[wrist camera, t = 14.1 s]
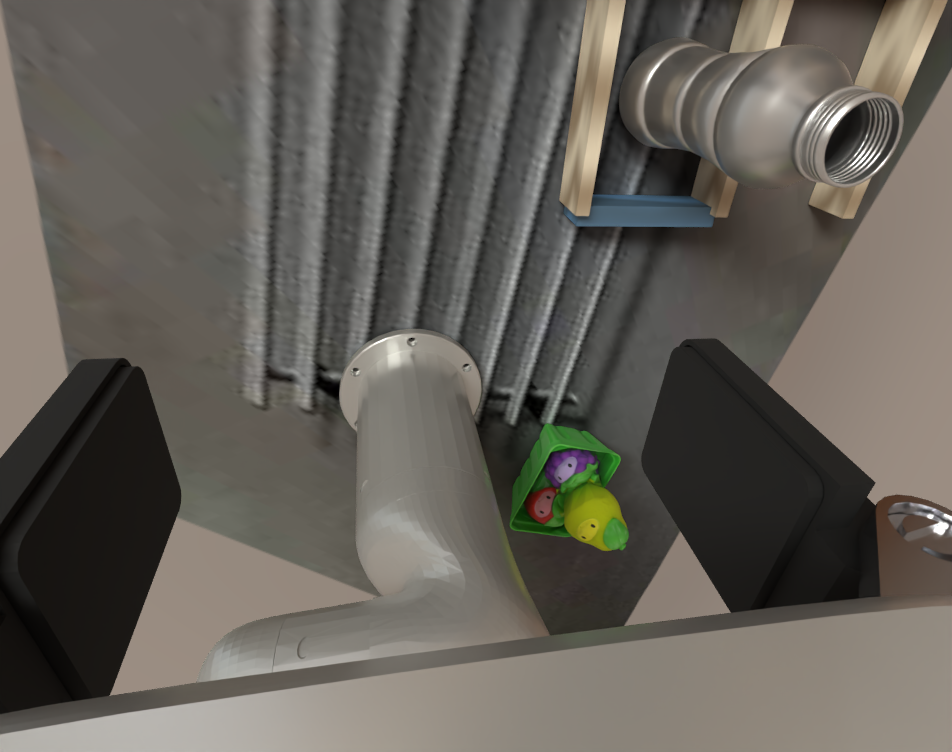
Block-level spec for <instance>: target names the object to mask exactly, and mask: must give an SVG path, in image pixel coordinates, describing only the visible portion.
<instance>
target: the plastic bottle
mask: <svg viewBox="0 0 952 752" xmlns="http://www.w3.org/2000/svg"><path fill="white" fill-rule="evenodd" d="M619 109H620V115H621V118H622V121H623V124H624V125H625V127H626V128H627V130H628V131H629V132H630V133H631V134H632V135H633V136H634V137H635V138H636V139H637V140H638V141H639V142H641V143H642V144H644V145H646V146H649V147H653V148H662V149H674V148H676V149H681V150H686V151H691V152H693V153H695V154H697V155H699V156H700V157H702V158H704V159H706V160H708V161H710V162H711V163H712V164H713V165H715V166H716V167H717V168H719V169H720V170H721V171H722V172H724V173H725V174H726V175H728V176H729V177H730V178H732V179H733V180H735V181H737V182H739V183H741V184H742V185H744V186H746V187H750V188H753V189H774V188H781V187H786V186H789V185H792V184H794V183H796V182H799V181H801V180H803V179H808V180H811V181H814V182H817V183H825V184H828V185H830V186H834V187H840V188H848V187H853V186H856V185H859V184H861V183H863V182H865V181H866V180H868V179H870V178H871V177H872V176H874V175H875V174H876V173H877V172H878V171H879V170H880V169H881V168H882V167H883V166H884V165H885V164H886V162H887V161H888V160H889V159H890V157H891V156H892V154H893V152H894V151H895V149H896V147H897V145H898V142H899V140H900V137H901V134H902V130H903V122H904V121H903V112H902V108H901V106H900V104H899V103H898V101H897V100H896V99H894V98H893V97H891V96H889V95H887V94H884V93H881V92H875V91H871V90H870V89H868V88H865V87H862V86H857V85H853V83H852V80H851V77H850V74H849V71H848V69H847V68H846V66H845V65H844V63H843V62H842V61H841V60H840V59H838V58H837V57H836V56H835V55H833V54H832V53H830V52H829V51H827V50H826V49H824V48H822V47H819V46H816V45H812V44H796V45H786V46H781V47H777V48H771V49H766V50H761V51H756V52H737V53H726V52H722V51H719V50H715V49H711V48H709V47H708V46H706V45H705V44H703V43H700V42H697V41H695V40H692V39H689V38H684V37H676V38H670V39H667V40H664V41H661V42H658V43H656V44H654V45H652V46H650V47H648V48H647V49H645V50H644V51H643V52H642V53H641V54H640V55H639V56H638V57H637V58H636V59H635V60H634V61H633V63H632V64H631V65H630V67H629V69H628V71H627V72H626V74H625V76H624V79H623V82H622V85H621V89H620V95H619Z"/></svg>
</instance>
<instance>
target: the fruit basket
mask: <svg viewBox="0 0 952 752" xmlns="http://www.w3.org/2000/svg"><path fill="white" fill-rule="evenodd" d="M620 461H621V458H620V456H619V455H618V454H616V453H615V452H614V451H612V450H610V449H608V448H607V447H606V446H605V445H603V444H602V443H601V442H600V441H599V440H597V439H596V438H595V437H594V436H593V435H591V434H590V433H589V432H587V431H578V430H576V429H572V428H567V427H563V426H553V425H552V424H545V426H544V427H543V429H542V431H541V433H540V437H539V439H538V441H537V442H536V443H535V445H534V447H533V449H532V451H531V452H530V457H529V458H528V459H527V460H526V462H525V464H524V466H523V468H522V470H521V474H520V476H519V477H518V478H517V479H516V481H515V483H514V485H513V490H512V514H511V516H510V528H511V529H513V530H515V531H523V532H531V533H539V534H546V535H553V536H561V537H570V536H573V537H574V538H576V539H577V540H579V541H581V542H584V543H587V544H591V545H593V546H595V547H596V548H598V549H600V550H603V551H610V550H616V549H618V548H619V549H620V550H623V549H624V548H625V547H626V544H625V543H626V541H627V540H628V537H629V532H628V530H627V526H626V523H625V521H624V520H623V518H622V515H621V510H620V507H619V504H618V502H617V500H616V498H615V497H614V496H613V495H612V494H611V493H610V492H609V491H608V490H607V489H605V486H606V485H607V483H608V482H609V480H610V479H611V477H612V475H613V474H614V472H615V470H616V469H617V467H618V465H619V464H620Z"/></svg>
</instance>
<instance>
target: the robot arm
mask: <svg viewBox="0 0 952 752" xmlns="http://www.w3.org/2000/svg"><path fill="white" fill-rule="evenodd" d="M409 338H413V339H409ZM464 364H465V365H464ZM354 368H357V369H354ZM481 394H482V385H481V378H480V374H479V371H478V368H477V366H476V363H475V361H474V359H473V358H472V357H471V355H470V354H469V352H468V351H467V350H466V349H465V348H464V347H463V346H462V345H461V344H460V343H458V342H456V341H455V340H453V339H452V338H450V337H448V336H446V335H443V334H441V333H438V332H435V331H430V330H424V329H403V330H397V331H392V332H389V333H386V334H383V335H380V336H378V337H376V338H374V339H373V340H371V341H369V342H367V343H366V344H365V345H364V346H362V347H361V348H360V349H359V350H357V351H356V353H355V354H354V355H353V356H352V357H351V359H350V360H349V361H348V363H347V365H346V367H345V369H344V371H343V374H342V378H341V381H340V391H339V396H340V405H341V408H342V411H343V414H344V416H345V418H346V420H347V421H348V423H349V424H350V426H351V427H352V428H353V429H354V430H355V431H356V432H357V479H356V546H357V550H358V555H359V558H360V562H361V564H362V566H363V568H364V570H365V572H366V574H367V576H368V578H369V579H370V581H371V582H372V583H373V585H374V586H375V588H376V589H377V590H378V591H379V593H380V594H381V595H382V596H381V597H376V598H373V600H368V601H362V602H356V603H350V604H344V605H338V606H333V607H326V608H320V609H314V610H308V611H302V612H296V613H290V614H284V615H279V616H273V617H269V618H265V619H260V620H256V621H253V622H250V623H247V624H245V625H243V626H240V627H238V628H236V629H234V630H233V631H231V632H229V633H228V634H226V635H225V636H224V637H223V638H222V639H221V640H220V641H218V642H217V643H216V645H215V646H214V647H213V648H212V650H211V651H210V653H209V654H208V656H207V657H206V659H205V661H204V663H203V665H202V667H201V670H200V672H199V675H198V678H197V681H196V683H191V684H185V685H179V686H171V687H165V688H158V689H152V690H145V691H139V692H132V693H125V694H119V695H112V696H109V695H110V693H111V691H112V688H113V686H114V683H115V680H116V678H117V675H118V672H119V669H120V667H121V664H122V661H123V659H124V656H125V654H126V651H127V648H128V646H129V643H130V640H131V637H132V635H133V632H134V629H135V627H136V624H137V621H138V619H139V616H140V613H141V611H142V608H143V605H144V602H145V600H146V597H147V594H148V592H149V589H150V586H151V584H152V581H153V578H154V576H155V573H156V571H157V568H158V565H159V563H160V560H161V557H162V554H163V552H164V549H165V546H166V544H167V541H168V538H169V536H170V533H171V530H172V528H173V525H174V522H175V520H176V517H177V514H178V512H179V509H180V504H181V489H180V485H179V482H178V479H177V475H176V472H175V469H174V466H173V463H172V460H171V456H170V453H169V450H168V447H167V444H166V441H165V437H164V434H163V431H162V428H161V425H160V422H159V418H158V415H157V412H156V409H155V406H154V403H153V399H152V396H151V393H150V390H149V387H148V384H147V380H146V377H145V374H144V372H143V370H142V369H141V368H140V367H138V366H136V367H132V366H131V364H130V363H129V362H128V360H126V359H124V358H111V359H85V360H82V361H81V362H79V363H78V364H77V366H76V367H75V368H74V369H73V370H72V372H71V373H70V374H69V375H68V377H67V378H66V379H65V380H64V381H63V383H62V384H61V385H60V386H59V388H58V389H57V390H56V391H55V392H54V394H53V395H52V396H51V397H50V399H49V400H48V401H47V402H46V403H45V405H44V406H43V407H42V408H41V409H40V411H39V412H38V413H37V414H36V416H35V417H34V418H33V419H32V420H31V422H30V423H29V424H28V425H27V427H26V428H25V429H24V430H23V431H22V433H21V434H20V435H19V436H18V437H17V439H16V440H15V441H14V442H13V443H12V445H11V446H10V447H9V448H8V450H7V451H6V452H5V453H4V454H3V456H2V457H1V458H0V752H952V511H951V510H949V509H947V508H945V507H943V506H941V505H938V504H936V503H933V502H931V501H929V500H925V499H921V498H918V497H914V496H907V495H892V496H887V497H884V498H883V499H881V500H880V501H878V503H877V504H876V506H875V505H874V504H873V503H872V502H871V501H870V500H869V499H868V498H867V496H868V494H869V493H870V491H871V489H872V488H873V486H874V484H875V482H874V481H873V480H872V479H871V478H870V477H869V476H868V475H867V474H865V473H864V472H863V471H862V470H861V469H860V468H859V467H858V466H857V465H855V464H854V463H853V462H852V461H851V460H850V459H849V458H848V457H847V456H846V455H844V454H843V453H842V452H841V451H840V450H839V449H838V448H837V447H836V446H835V445H833V444H832V443H831V442H830V441H829V440H828V439H827V438H826V437H825V436H824V435H823V434H821V433H820V432H819V431H818V430H817V429H816V428H815V427H814V426H813V425H812V424H810V423H809V422H808V421H807V420H806V419H805V418H804V417H803V416H802V415H801V414H799V413H798V412H797V411H796V410H795V409H794V408H793V407H792V406H791V405H789V404H788V403H787V402H786V401H785V400H784V399H783V398H782V397H781V396H780V395H779V394H777V393H776V392H775V391H774V390H773V389H772V388H771V387H770V386H769V385H768V384H767V383H765V382H764V381H763V380H762V379H761V378H760V377H759V376H758V375H757V374H756V373H754V372H753V371H752V370H751V369H750V368H749V367H748V366H747V365H746V364H745V363H743V362H742V361H741V360H740V359H739V358H738V357H737V356H736V355H735V354H734V353H732V352H731V351H730V350H729V349H728V348H727V347H726V346H725V345H724V344H723V343H721V342H720V341H719V340H717V339H686V340H685V341H683V342H682V343H681V344H680V346H679V347H676V348H675V349H674V350H673V351H672V353H671V356H670V359H669V363H668V366H667V369H666V373H665V376H664V380H663V383H662V387H661V390H660V394H659V397H658V400H657V404H656V407H655V411H654V414H653V418H652V421H651V424H650V428H649V431H648V435H647V438H646V442H645V445H644V449H643V452H642V467H643V470H644V472H645V474H646V476H647V477H648V479H649V481H650V482H651V484H652V486H653V487H654V489H655V490H656V492H657V494H658V495H659V497H660V499H661V500H662V502H663V503H664V505H665V507H666V508H667V510H668V512H669V513H670V515H671V516H672V518H673V520H674V521H675V523H676V524H677V526H678V528H679V529H680V531H681V533H682V534H683V536H684V537H685V539H686V541H687V542H688V544H689V545H690V547H691V549H692V550H693V552H694V554H695V555H696V557H697V559H698V560H699V562H700V563H701V565H702V567H703V568H704V570H705V572H706V573H707V575H708V576H709V578H710V580H711V581H712V583H713V584H714V586H715V588H716V589H717V591H718V593H719V594H720V596H721V597H722V599H723V601H724V602H725V604H726V606H727V607H728V608H729V610H730V612H731V613H726V614H718V615H710V616H702V617H695V618H686V619H678V620H670V621H662V622H653V623H645V624H637V625H629V626H621V627H613V628H606V629H598V630H590V631H582V632H575V633H567V634H559V635H551V636H550V635H549V632H548V630H547V628H546V626H545V624H544V622H543V620H542V618H541V616H540V614H539V612H538V610H537V608H536V606H535V604H534V602H533V600H532V598H531V596H530V594H529V592H528V590H527V588H526V586H525V584H524V581H523V579H522V577H521V574H520V572H519V570H518V567H517V565H516V562H515V560H514V557H513V554H512V551H511V548H510V545H509V542H508V539H507V536H506V532H505V529H504V526H503V522H502V519H501V515H500V512H499V508H498V505H497V501H496V497H495V494H494V490H493V486H492V483H491V479H490V475H489V472H488V468H487V465H486V461H485V457H484V454H483V450H482V446H481V443H480V439H479V435H478V432H477V428H476V425H475V421H474V417H473V416H474V415H475V413H476V411H477V408H478V406H479V404H480V399H481Z"/></svg>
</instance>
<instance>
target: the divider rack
mask: <svg viewBox="0 0 952 752" xmlns="http://www.w3.org/2000/svg"><path fill="white" fill-rule="evenodd" d="M947 1H948V0H886V2H885V5H884V7H883V10H882V13H881V15H880V18H879V20H878V23H877V26H876V28H875V31H874V34H873V36H872V39H871V41H870V44H869V47H868V49H867V52H866V54H865V57H864V60H863V62H862V65H861V68H860V70H859V73H858V75H857V78H856V81H855V83H854V85H857V86H862V87H865V88H868V89H870V90H871V91H875V92H881V93H884V94H887V95H889V96H891V97H893V98H894V99H896V100H897V101H898V103H899V104H900V106H901V107H902V105H903V102H904V100H905V98H906V96H907V93H908V91H909V89H910V86H911V84H912V82H913V79H914V77H915V75H916V72H917V70H918V68H919V65H920V63H921V61H922V58H923V56H924V54H925V52H926V49H927V47H928V45H929V42H930V40H931V38H932V35H933V33H934V31H935V28H936V26H937V24H938V21H939V19H940V17H941V15H942V12H943V10H944V8H945V5H946V3H947ZM793 2H794V0H743V2H742V6H741V9H740V13H739V17H738V21H737V24H736V28H735V32H734V36H733V40H732V43H731V47H730V51H729V53H737V52H756V51H761V50H766V49H771V48H777V47H780V44H781V41H782V38H783V35H784V31H785V28H786V25H787V22H788V18H789V15H790V12H791V9H792V5H793ZM625 3H626V0H587V6H586V13H585V20H584V27H583V35H582V42H581V49H580V56H579V63H578V70H577V78H576V85H575V92H574V99H573V106H572V113H571V121H570V128H569V135H568V142H567V149H566V156H565V163H564V171H563V178H562V185H561V192H560V199H559V201H560V202H561V203H563V204H564V205H565V207H564V214H565V215H566V216H567V217H568V218H569V219H570V220H571V221H572V222H573V223H574V224H575V225H576V226H617V227H712V225H713V222H714V218H715V217H728V214H729V210H730V207H731V204H732V201H733V197H734V194H735V191H736V188H737V184H738V182H737V181H735V180H733V179H732V178H730V177H729V176H728V175H726V174H725V173H724V172H722V171H721V170H720V169H719V168H717V167H716V166H715V165H713V164H712V163H711V162H710V161H708V160H706V159H704V158H702V157H701V160H700V164H699V167H698V171H697V175H696V179H695V182H694V186H693V190H692V194H691V196H654V195H594V194H593V190H594V184H595V178H596V172H597V167H598V161H599V155H600V149H601V143H602V137H603V131H604V126H605V120H606V114H607V108H608V102H609V96H610V91H611V85H612V79H613V73H614V67H615V61H616V55H617V50H618V44H619V38H620V32H621V26H622V20H623V14H624V9H625ZM870 179H871V178H870ZM870 179H868V180H866V181H865V182H863V183H861V184H859V185H856V186H853V187H848V188H840V187H834V186H830V185H828V184H825V183H816V185H815V188H814V191H813V193H812V196H811V198H810V201H809V205H812V206H814V207H816V208H819V209H821V210H824V211H826V212H828V213H831V214H833V215H835V216H838V217H840V218H850V219H853V218H854V216H855V214H856V211H857V209H858V207H859V204H860V202H861V200H862V197H863V195H864V193H865V190H866V188H867V186H868V183H869V181H870Z"/></svg>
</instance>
